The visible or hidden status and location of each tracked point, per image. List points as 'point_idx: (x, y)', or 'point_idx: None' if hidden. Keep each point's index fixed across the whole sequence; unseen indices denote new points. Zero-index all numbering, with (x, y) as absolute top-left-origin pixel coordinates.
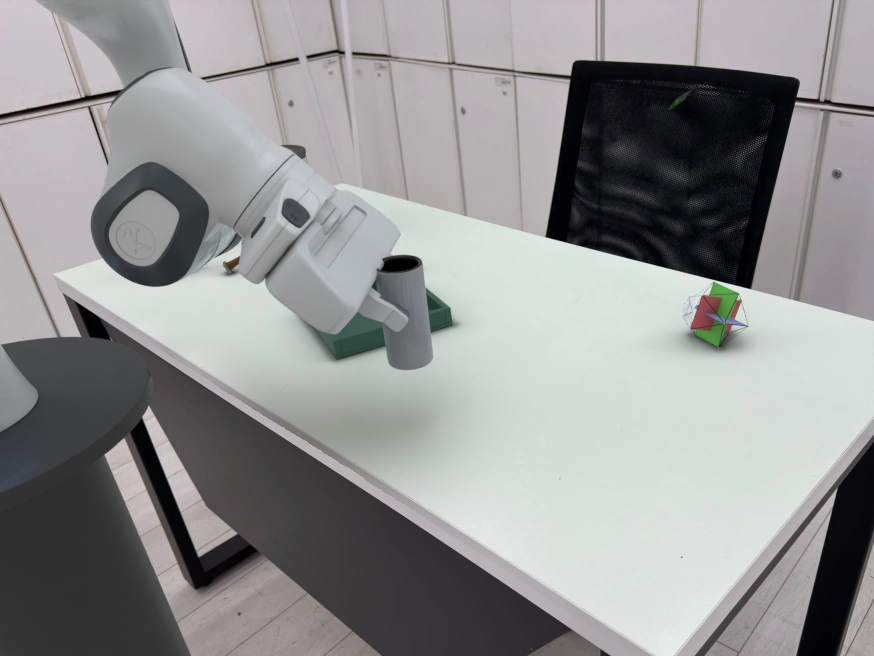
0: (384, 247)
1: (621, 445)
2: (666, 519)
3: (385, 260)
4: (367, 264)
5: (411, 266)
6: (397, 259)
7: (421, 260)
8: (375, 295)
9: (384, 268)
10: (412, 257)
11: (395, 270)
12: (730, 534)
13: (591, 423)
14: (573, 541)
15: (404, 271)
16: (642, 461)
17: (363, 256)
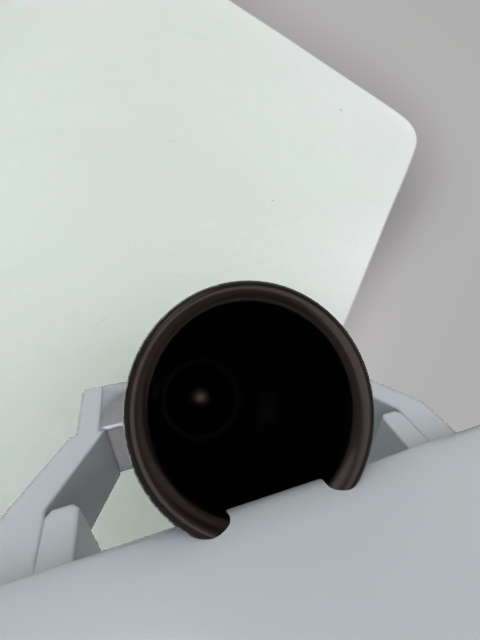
0: (44, 633)
1: (204, 142)
2: (304, 114)
3: (210, 513)
4: (420, 532)
5: (159, 375)
6: (161, 454)
7: (200, 292)
8: (417, 419)
9: (223, 501)
10: (157, 359)
11: (170, 459)
12: (308, 74)
13: (164, 172)
14: (348, 184)
15: (341, 328)
16: (228, 125)
17: (418, 607)
